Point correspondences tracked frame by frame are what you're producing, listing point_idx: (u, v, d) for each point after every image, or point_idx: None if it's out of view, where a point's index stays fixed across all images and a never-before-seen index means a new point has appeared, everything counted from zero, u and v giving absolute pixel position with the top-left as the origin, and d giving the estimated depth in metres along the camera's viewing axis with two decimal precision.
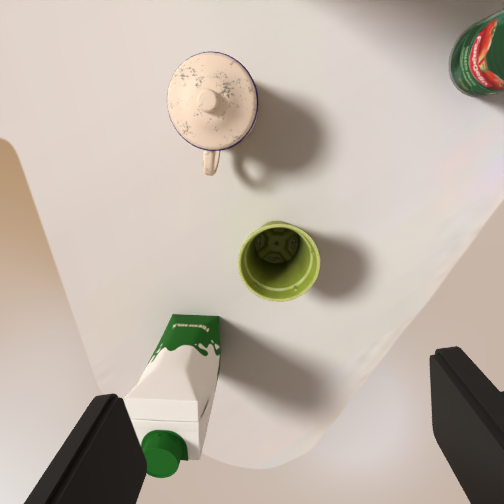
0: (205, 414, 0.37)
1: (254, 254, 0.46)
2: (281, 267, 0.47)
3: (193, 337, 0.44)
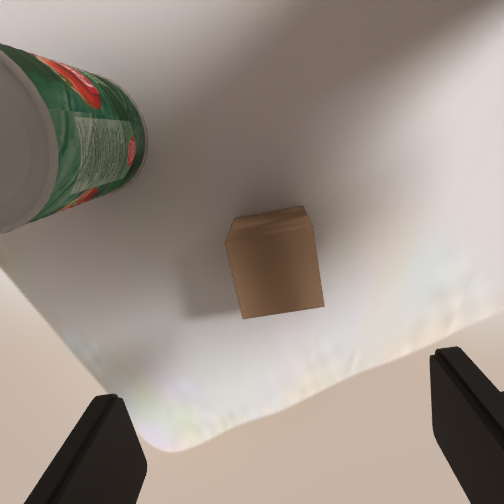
0: None
1: None
2: None
3: None
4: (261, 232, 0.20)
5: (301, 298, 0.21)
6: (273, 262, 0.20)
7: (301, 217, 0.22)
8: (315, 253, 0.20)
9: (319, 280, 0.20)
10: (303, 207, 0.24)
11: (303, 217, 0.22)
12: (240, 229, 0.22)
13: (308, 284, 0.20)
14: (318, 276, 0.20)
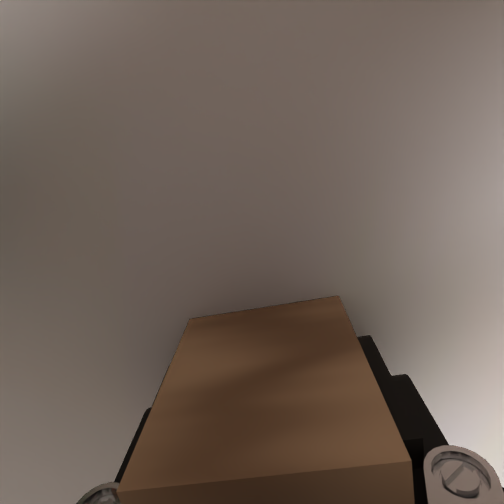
0: None
1: None
2: None
3: None
4: (238, 444, 0.06)
5: None
6: None
7: (350, 363, 0.08)
8: None
9: None
10: (342, 305, 0.11)
11: (356, 365, 0.08)
12: (186, 392, 0.08)
13: None
14: None
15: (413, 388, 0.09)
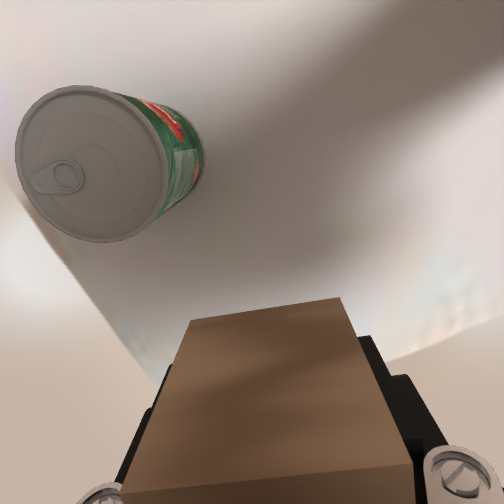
0: None
1: None
2: None
3: None
4: (240, 446, 0.07)
5: None
6: None
7: (351, 365, 0.08)
8: None
9: None
10: (343, 307, 0.11)
11: (357, 367, 0.08)
12: (187, 393, 0.08)
13: None
14: None
15: (413, 388, 0.09)
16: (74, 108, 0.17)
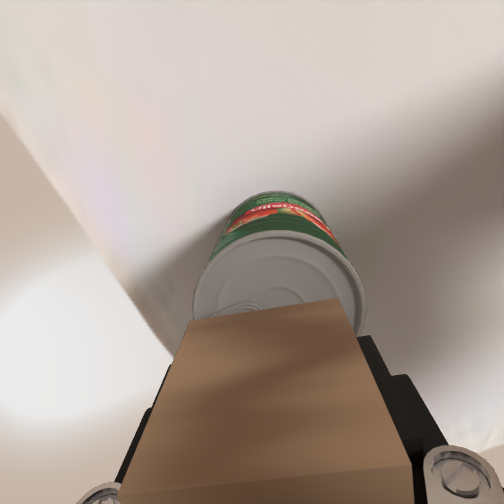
0: None
1: None
2: None
3: None
4: (239, 447, 0.06)
5: None
6: None
7: (350, 366, 0.08)
8: None
9: None
10: (342, 308, 0.11)
11: (356, 368, 0.08)
12: (186, 394, 0.08)
13: None
14: None
15: (413, 388, 0.09)
16: (266, 252, 0.15)
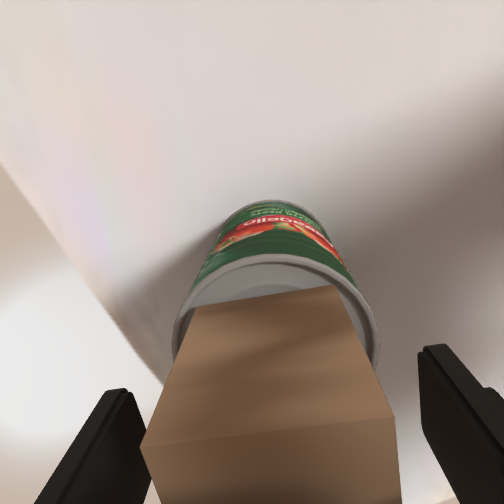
0: None
1: None
2: None
3: None
4: (245, 407, 0.07)
5: None
6: (276, 493, 0.07)
7: (343, 341, 0.09)
8: (396, 477, 0.07)
9: None
10: (338, 292, 0.11)
11: (349, 342, 0.09)
12: (196, 367, 0.09)
13: None
14: None
15: None
16: (260, 280, 0.12)
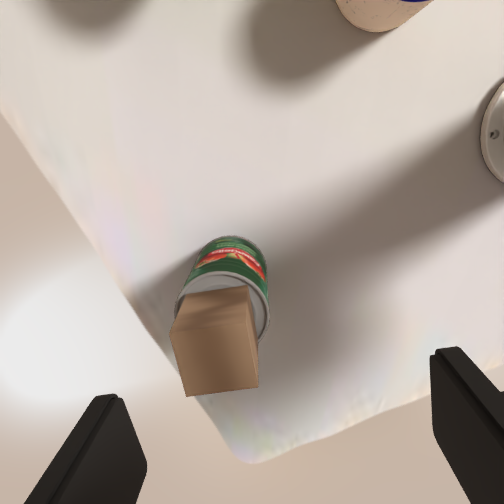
0: None
1: None
2: None
3: None
4: (202, 323, 0.23)
5: (237, 380, 0.23)
6: (212, 350, 0.23)
7: (241, 305, 0.24)
8: (248, 343, 0.22)
9: (253, 365, 0.23)
10: (247, 288, 0.27)
11: (242, 305, 0.24)
12: (186, 314, 0.24)
13: (243, 369, 0.23)
14: (252, 362, 0.23)
15: None
16: (215, 282, 0.28)
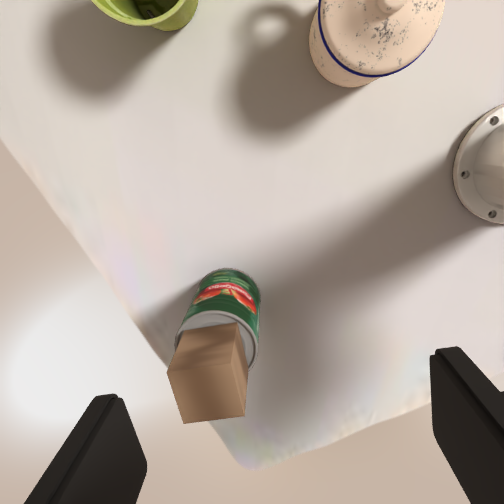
0: None
1: None
2: None
3: None
4: (195, 362, 0.27)
5: (226, 410, 0.27)
6: (203, 385, 0.27)
7: (229, 344, 0.28)
8: (234, 380, 0.26)
9: (238, 398, 0.27)
10: (236, 326, 0.31)
11: (230, 344, 0.28)
12: (182, 352, 0.29)
13: (231, 401, 0.27)
14: (237, 395, 0.27)
15: None
16: (209, 320, 0.32)
